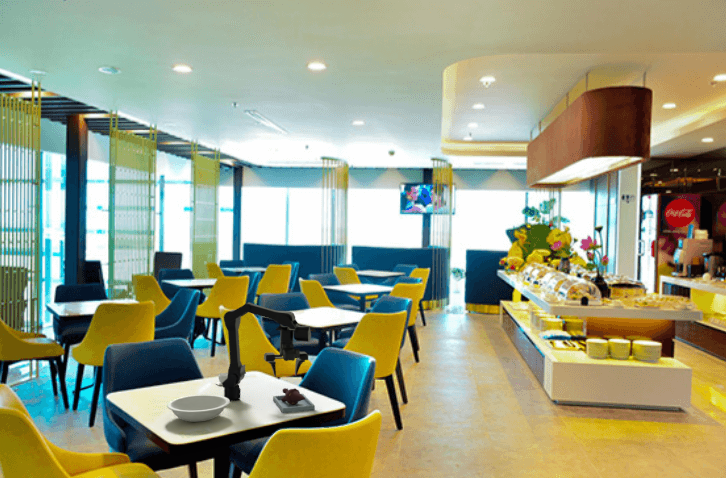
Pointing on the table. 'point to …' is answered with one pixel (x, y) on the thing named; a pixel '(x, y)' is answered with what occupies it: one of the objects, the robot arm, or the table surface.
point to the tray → (288, 408)
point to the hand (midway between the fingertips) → (285, 376)
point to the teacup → (222, 378)
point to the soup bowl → (198, 407)
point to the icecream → (292, 396)
